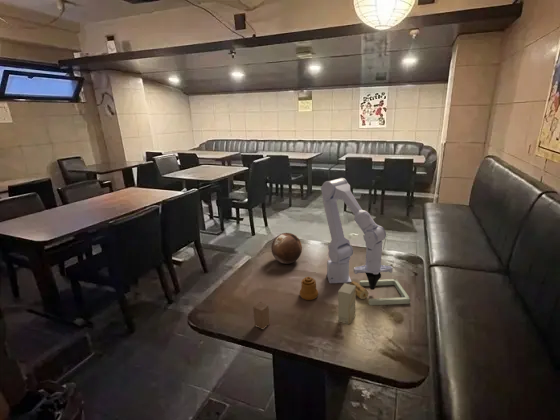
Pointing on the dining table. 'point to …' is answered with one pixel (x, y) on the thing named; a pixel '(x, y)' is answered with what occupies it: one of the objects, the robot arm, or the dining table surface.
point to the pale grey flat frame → (386, 301)
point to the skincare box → (346, 303)
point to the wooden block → (261, 315)
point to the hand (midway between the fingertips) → (371, 288)
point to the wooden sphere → (286, 248)
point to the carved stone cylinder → (360, 290)
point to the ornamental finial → (308, 289)
